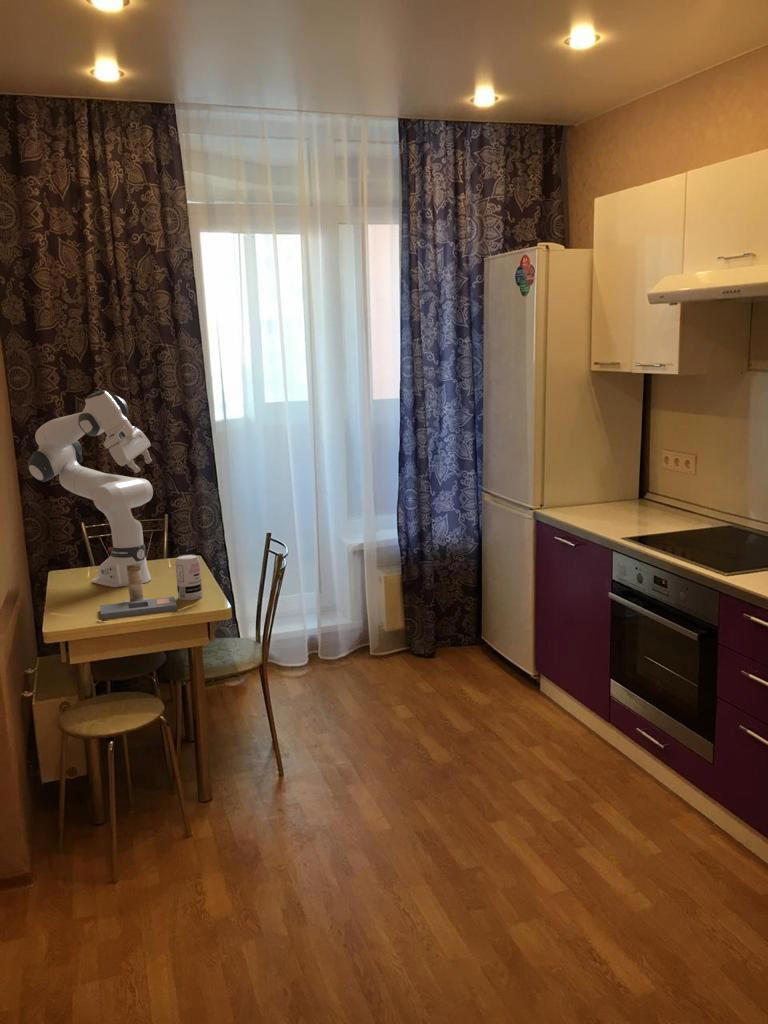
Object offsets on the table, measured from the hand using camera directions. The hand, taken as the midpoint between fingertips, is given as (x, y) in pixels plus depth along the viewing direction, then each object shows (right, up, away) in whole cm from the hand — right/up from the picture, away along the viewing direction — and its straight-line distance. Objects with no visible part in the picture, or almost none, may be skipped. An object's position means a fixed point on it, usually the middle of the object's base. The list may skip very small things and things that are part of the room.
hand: (144, 467), depth 294 cm
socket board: (+2, -49, -14) cm, 51 cm away
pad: (-2, -47, -4) cm, 47 cm away
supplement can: (+16, -46, 0) cm, 49 cm away
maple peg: (-2, -47, -4) cm, 47 cm away
